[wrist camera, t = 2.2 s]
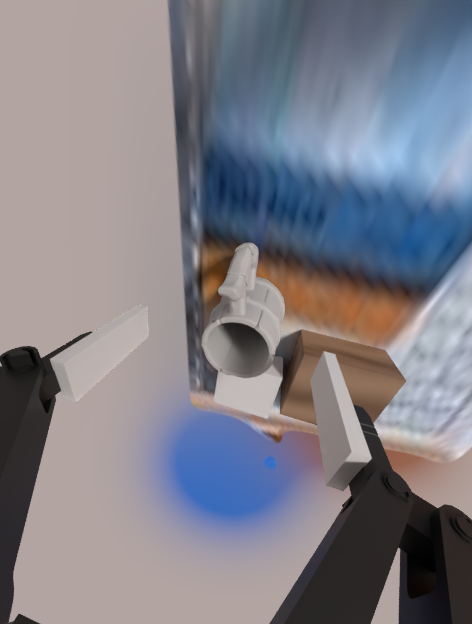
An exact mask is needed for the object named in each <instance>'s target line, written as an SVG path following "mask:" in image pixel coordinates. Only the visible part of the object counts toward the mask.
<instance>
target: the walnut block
mask: <svg viewBox="0 0 472 624" xmlns="http://www.w3.org/2000/svg"><path fill="white" fill-rule="evenodd" d="M323 351H325V352H329V353H333V354H335V355H336V358H337V361H338V364H339V367H340V369H341V372H342V375H343V378H344V381H345V384H346V386H347V389H348V392H349V395H350V398H351V401H352V403H353V405H356V406H360V407H363V408H364V409H365V411H366V412H367V413H368V414H369V416H370V417H371V419H372V422H373V423H374V421H375V420H376V419H377V418H378V416H379V415H380V414H381V413H382V411H383V410H384V409H385V407H386V406H387V405H388V404H389V402H390V401H391V400H392V399H393V397H394V396H395V395H396V393H397V392H398V391H399V390H400V388H401V387H402V386H403V385H404V383H405V382H406V380H405V378H404V377H403V376H402V374H401V373H400V371H399V370H398V368H397V367H396V365H395V364H394V362H393V361H392V360H391V358H390V357H389V355H388V354H387V352H386V351H385V350H382V349H378V348H374V347H370V346H366V345H362V344H358V343H354V342H350V341H346V340H342V339H338V338H334V337H330V336H326V335H322V334H318V333H313V332H309V331H305V330H301V333H300V335H299V338H298V341H297V343H296V346H295V349H294V351H293V354H292V357H291V359H290V362H289V365H288V367H287V370H286V373H285V375H284V378H283V381H282V383H281V399H280V414H282V415H285V416H289V417H292V418H295V419H298V420H302V421H305V422H308V423H312V424H315V425H317V421H316V414H315V408H314V401H313V394H312V388H311V381H310V380H311V378H312V375H313V373H314V371H315V369H316V367H317V364H318V362H319V360H320V358H321V356H322V353H323Z"/></svg>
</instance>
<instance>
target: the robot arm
mask: <svg viewBox="0 0 472 624" xmlns="http://www.w3.org/2000/svg"><path fill="white" fill-rule="evenodd" d="M147 337H149V325H148V306H144V305H140V304H138V305H136V306H134V307H133V308H131V309H130V310H128V311H126V312H125V313H123V314H121V315H120V316H118V317H117V318H115V319H114V320H112V321H110V322H109V323H107V324H105V325H104V326H102V327H101V328H99V329H97V330H96V331H94V332H88V333H85V334H82V335H80V336H78V337H76V338H75V339H73V340H72V341H70V342H68V343H66V345H63V346H61V347H60V348H58V349H56V350H55V351H53V352H51V353H50V354H48V355H46V356H45V357H43V358H41V357H40V355H39V352H38V350H37V349H36V348H35V347H31V346H24V347H19V348H15V349H12V350H9V351H7V352H5V353H3V354H2V355H1V356H0V362H1V364H2V367H1V366H0V624H39V623H37V622H35V621H33V620H31V619H29V618H27V617H25V616H23V615H21V614H18V616H17V617H16V619H15V620H14V621H13V622H10V623H8V622H9V617H10V613H11V608H12V603H13V596H14V583H13V571H14V566H15V562H16V557H17V553H18V550H19V546H20V542H21V538H22V534H23V530H24V526H25V522H26V518H27V514H28V510H29V506H30V502H31V498H32V494H33V490H34V486H35V482H36V478H37V474H38V470H39V466H40V462H41V458H42V454H43V450H44V446H45V442H46V438H47V434H48V430H49V426H50V422H51V418H52V413H53V409H54V406H55V402H56V398H55V395H56V394H57V393H59V392H60V391H61V392H62V396H63V398H64V399H67V400H70V401H73V402H77V401H78V400H79V399H80V398H81V397H82V396H84V395H85V394H86V393H87V392H88V391H89V390H90V389H91V388H92V387H93V386H94V385H96V384H97V383H98V382H99V381H100V380H101V379H102V378H103V377H104V376H106V375H107V374H108V373H109V372H110V371H111V370H112V369H113V368H114V367H116V366H117V365H118V364H119V363H120V362H121V361H122V360H123V359H124V358H125V357H127V356H128V355H129V354H130V353H131V352H132V351H133V350H134V349H135V348H136V347H138V346H139V345H140V344H141V343H142V342H143V341H144V340H145V339H146V338H147ZM310 381H311V388H312V394H313V401H314V408H315V414H316V421H317V428H318V434H319V441H320V447H321V454H322V461H323V467H324V474H325V481H326V485H327V486H330V487H333V488H336V489H339V490H342V491H344V490H345V488H346V487H347V486H348V485H349V487H350V491H351V496H350V498H349V499H348V500H347V501H346V502H345V503H344V504H343V505H342V506H343V508H342V510H341V512H340V513H339V515H338V516H337V518H336V519H335V521H334V523H333V524H332V526H331V528H330V529H329V531H328V532H327V534H326V535H325V537H324V538H323V540H322V542H321V543H320V545H319V546H318V548H317V550H316V551H315V553H314V554H313V556H312V557H311V559H310V561H309V562H308V564H307V565H306V567H305V569H304V570H303V572H302V573H301V575H300V576H299V578H298V580H297V581H296V583H295V584H294V586H293V587H292V589H291V591H290V592H289V594H288V595H287V597H286V599H285V600H284V602H283V603H282V605H281V606H280V608H279V610H278V611H277V613H276V615H275V616H274V618H273V619H272V621H271V622H270V624H371V621H372V618H373V616H374V613H375V610H376V607H377V604H378V602H379V599H380V596H381V593H382V590H383V588H384V585H385V582H386V579H387V577H388V574H389V571H390V568H391V565H392V563H393V560H394V557H395V554H396V552H397V549H398V548H400V587H399V624H472V520H471V519H470V518H469V517H468V516H467V515H465V514H464V513H463V512H462V511H460V510H459V509H457V508H455V507H453V506H451V505H443V506H441V507H439V508H436V507H435V506H433V505H431V504H430V503H428V502H427V501H425V500H423V499H422V498H420V497H419V496H417V495H415V494H414V493H413V492H411V489H410V488H409V486H408V485H407V483H406V482H405V481H404V480H403V479H402V478H401V476H400V475H398V474H397V473H396V472H394V471H393V469H392V467H391V465H390V463H389V460H388V458H387V456H386V453H385V451H384V448H383V446H382V443H381V441H380V439H379V437H378V434H377V431H376V429H375V428H374V424H373V422H372V419H371V417H370V416H369V414H368V413H367V412H366V411H365V409H364V408H363V407H360V406H356V405H353V403H352V401H351V398H350V395H349V392H348V389H347V386H346V384H345V381H344V378H343V375H342V372H341V369H340V367H339V364H338V361H337V358H336V355H335V354H333V353H329V352H325V351H323V353H322V356H321V358H320V360H319V362H318V364H317V367H316V369H315V371H314V373H313V375H312V378H311V380H310Z"/></svg>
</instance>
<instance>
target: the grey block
mask: <svg viewBox="0 0 472 624" xmlns="http://www.w3.org/2000/svg"><path fill="white" fill-rule="evenodd" d="M282 379H283V357H280V356H276V355H274V360H273V363H272V365H271V366H270V368H269V369H268V370H267V371H266V372H264V373H263V374H261V375H259V376H257V377H252V378H241V377H236V376H234V375H226V374H224V373H221V372H220V370H219V371H218V376H217V383H216V389H215V396H214V402H215V403H218V404H221V405H225V406H228V407H231V408H234V409H238V410H241V411H244V412H247V413H250V414H254V415H257V416H260V417H263V418H266V419H268V417H269V414H270V411H271V408H272V406H273V403H274V400H275V398H276V395H277V392H278V390H279V387H280V384H281V381H282Z"/></svg>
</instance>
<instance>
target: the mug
mask: <svg viewBox="0 0 472 624" xmlns="http://www.w3.org/2000/svg"><path fill="white" fill-rule="evenodd" d="M257 264H258V247H257V246H255V245H254V244H253V243H244V244H242V245H240V246H238V247H237V248H236V250H235V254H234V257H233V259H232V260H231V263H230V266H229V269H228V272H227V277H226V279H225V281H224V282H223V284H222V285H221V286H220V287H219V288H218V293H219V294H220V295H221V296H222V297H221V301H220V303H219V304H218V305H217V306H216V307H214V308H213V310H212V312H211V315H210V318H209V323H208V325H207V327H206V329H205V330H204V332H203V335H202V340H201V343H202V345H201V346H202V348H203V350H204V353H205V356H206V358H207V360H208V361H209V362H210V364H211V365H212V366H213V367H214V368H215V369H216V370H218V371H219V370H220V372H221V373H224V374H226V375H234V376H236V377H241V378H252V377H257V376H259V375H261V374H263V373H264V372H266V371H267V370H268V369H269V368H270V366H271V365H272V363H273V360H274V355H275V351H276V348H277V346H278V344H279V341H280V337H281V325H280V324H281V323H282V320H283V317H284V313H285V304H284V299H283V297H282V295H281V293H280V292H279V290H278V289H277V288H276V287H275V286H274V285H273V284H272V283H270V281H268V280H266V279H264V278H261V277H256V269H257Z"/></svg>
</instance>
